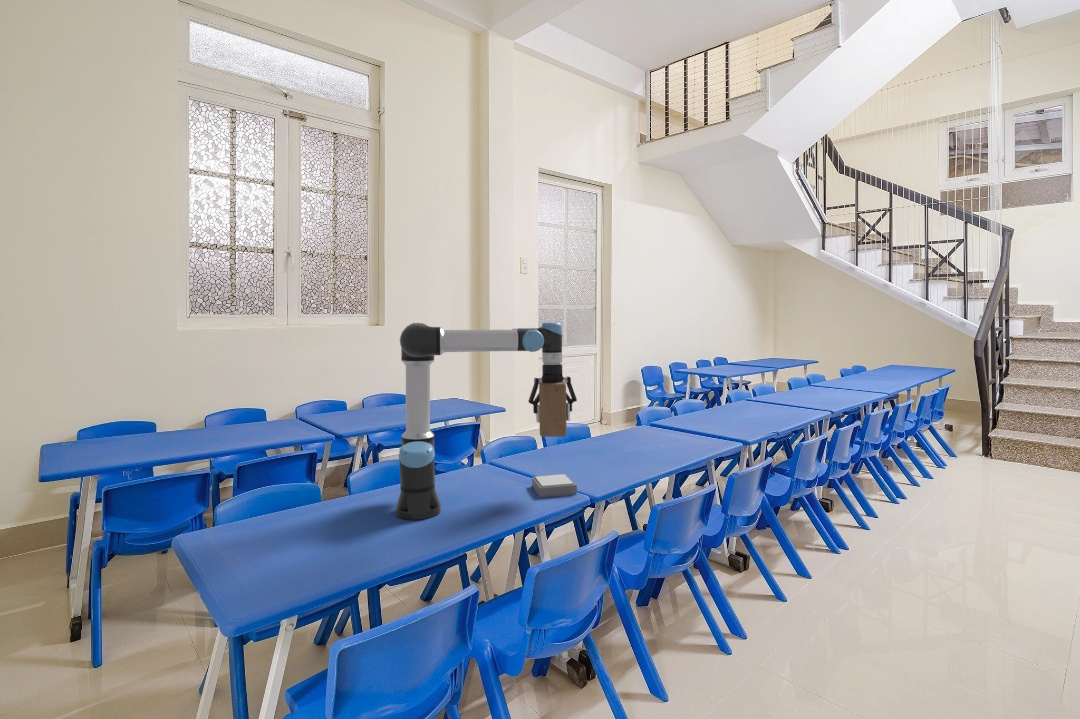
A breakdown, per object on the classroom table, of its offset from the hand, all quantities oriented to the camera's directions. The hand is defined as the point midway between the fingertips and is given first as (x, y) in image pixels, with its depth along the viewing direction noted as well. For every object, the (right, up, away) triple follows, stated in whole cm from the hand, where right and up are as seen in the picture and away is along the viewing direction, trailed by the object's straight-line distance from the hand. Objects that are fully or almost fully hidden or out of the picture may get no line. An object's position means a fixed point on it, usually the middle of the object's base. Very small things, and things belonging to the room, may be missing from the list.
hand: (552, 421), depth 217 cm
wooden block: (0, -5, +1) cm, 5 cm away
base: (0, -27, +2) cm, 27 cm away
